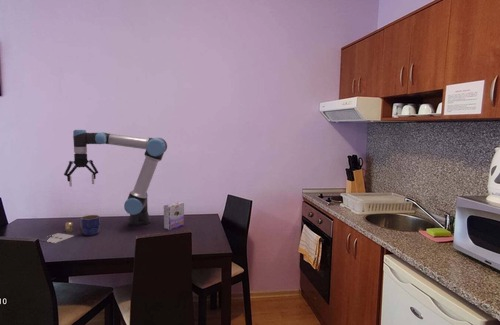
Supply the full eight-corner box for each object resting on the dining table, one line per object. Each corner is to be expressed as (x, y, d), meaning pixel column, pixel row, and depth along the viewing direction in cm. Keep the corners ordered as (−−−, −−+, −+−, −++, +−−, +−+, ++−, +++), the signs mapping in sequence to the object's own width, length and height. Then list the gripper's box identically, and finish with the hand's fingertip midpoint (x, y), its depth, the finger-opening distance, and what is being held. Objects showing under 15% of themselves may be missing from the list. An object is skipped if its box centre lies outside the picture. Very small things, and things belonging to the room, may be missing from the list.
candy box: (178, 224, 232) (178, 201, 231) (184, 225, 229) (184, 202, 227) (163, 228, 221) (163, 205, 220) (169, 230, 218) (169, 206, 216)
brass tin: (74, 231, 214) (73, 222, 213) (69, 232, 210) (68, 223, 209) (69, 230, 215) (69, 221, 214) (64, 232, 211) (63, 223, 211)
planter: (102, 231, 214) (101, 214, 213) (97, 236, 204) (96, 219, 203) (84, 231, 212) (83, 215, 211) (78, 237, 202) (78, 219, 201)
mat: (74, 236, 203) (74, 235, 203) (54, 243, 190) (54, 242, 190) (57, 233, 208) (57, 233, 208) (37, 240, 195) (37, 239, 194)
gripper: (99, 152, 222) (100, 182, 225) (57, 153, 206) (59, 186, 208) (102, 152, 217) (103, 183, 219) (60, 154, 201) (62, 188, 203)
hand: (82, 185), depth 214 cm, fingers open, 13 cm apart
